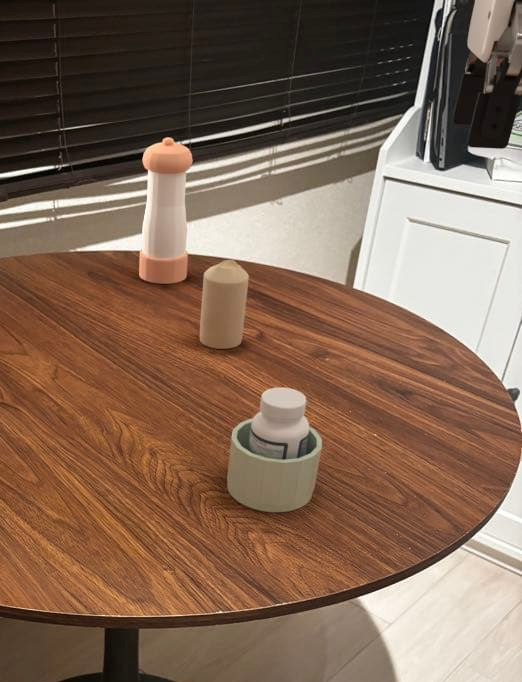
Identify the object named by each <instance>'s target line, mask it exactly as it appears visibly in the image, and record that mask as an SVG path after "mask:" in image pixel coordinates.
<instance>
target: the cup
mask: <svg viewBox="0 0 522 682" xmlns="http://www.w3.org/2000/svg"><path fill="white" fill-rule="evenodd" d="M253 418H254V417H252V418H249V419H247V420H243V421H241V422H240V423H238V424H237V425H236V426H235V427H234V428H233V429H232V433H231V436H230V437H231V438H230V447H229V458H228V466H227V467H228V468H227V475H226V488H227V492H228V493H229V495H230V496H231V497H232V498H233V499H234V500H235V501H236V502H238V503H239V504H241V505H243V506H245V507H247V508H249V509H253V510H256V511H260V512H266V513H287V512H291V511H295V510H298V509H301V508H302V507H305V506H306V505H307V504H308V503H309V502H310V501H311V500H312V498H313V495H314V491H315V487H316V484H317V483H316V482H317V477H318V471H319V466H320V462H321V461H320V460H321V455H322V450H323V438H322V436H321V435H320V434H319V433H318V432H317V430H316V429H314V428H313V427H311V426H309V436H308V443H307V449H306V455H305V456H302V457H300V458H295V459H285V460H281V459H272V458H265V457H262V456H259V455H256V454H253V453H251V452H250V451H248V449H249V440H250V431H251V424H252V420H253Z"/></svg>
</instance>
